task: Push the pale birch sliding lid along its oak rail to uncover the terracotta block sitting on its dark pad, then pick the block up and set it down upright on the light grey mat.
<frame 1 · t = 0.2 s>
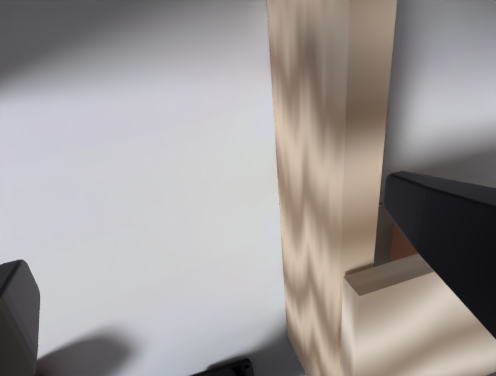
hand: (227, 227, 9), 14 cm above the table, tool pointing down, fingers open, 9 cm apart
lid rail: (290, 169, 26), on the table
block: (411, 235, 33), resting on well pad
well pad: (409, 233, 33), on the table
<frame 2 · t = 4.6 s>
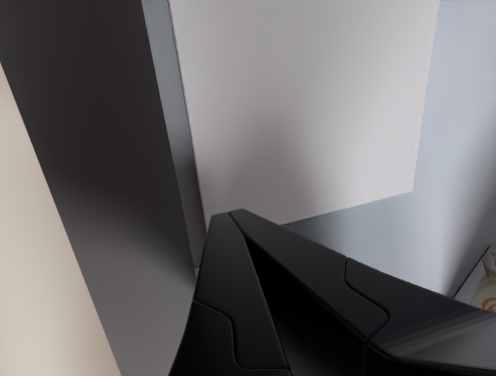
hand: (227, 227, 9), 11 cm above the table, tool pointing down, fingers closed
coffee box: (480, 286, 34), on the table
grey mat: (313, 47, 19), on the table
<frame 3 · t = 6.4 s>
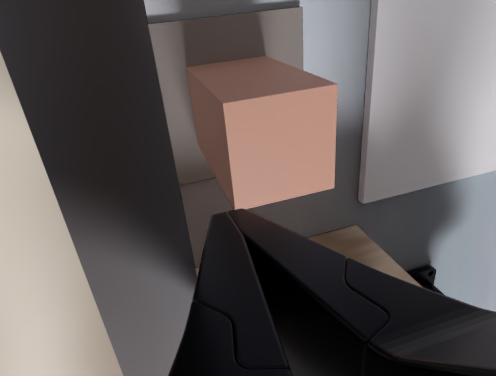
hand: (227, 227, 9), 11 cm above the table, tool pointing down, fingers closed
grey mat: (474, 25, 22), on the table
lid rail: (105, 305, 23), on the table
block: (231, 102, 19), resting on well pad
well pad: (229, 100, 19), on the table
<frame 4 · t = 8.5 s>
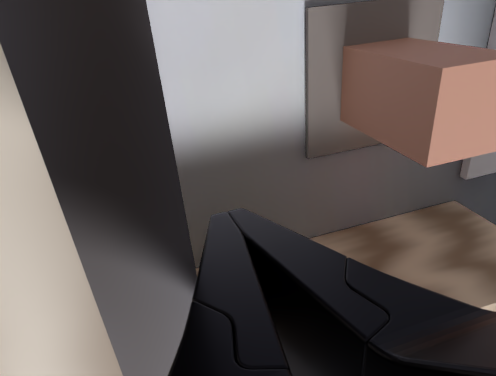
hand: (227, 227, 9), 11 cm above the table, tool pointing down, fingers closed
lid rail: (236, 270, 24), on the table
block: (373, 79, 21), resting on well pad
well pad: (370, 78, 21), on the table
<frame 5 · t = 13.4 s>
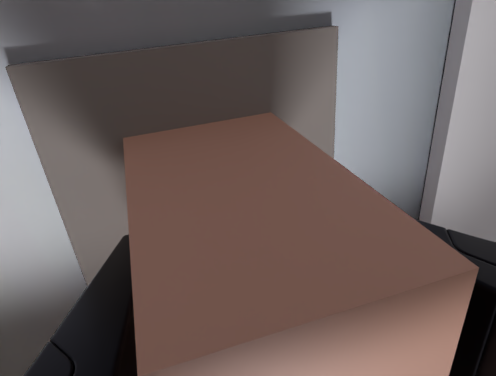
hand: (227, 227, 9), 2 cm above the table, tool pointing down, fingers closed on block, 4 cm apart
block: (209, 190, 11), resting on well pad, touching gripper
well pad: (207, 185, 11), on the table
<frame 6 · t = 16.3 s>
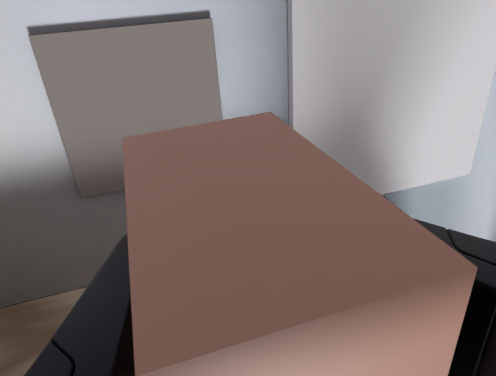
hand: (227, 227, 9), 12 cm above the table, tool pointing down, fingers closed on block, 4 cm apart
grey mat: (400, 37, 22), on the table
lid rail: (24, 316, 22), on the table
block: (209, 190, 11), point 10 cm above the table, touching gripper
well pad: (142, 111, 19), on the table
when the fingers open (4 cm above the table, at t = 19.6 s): block drops 1 cm, resting on grey mat.
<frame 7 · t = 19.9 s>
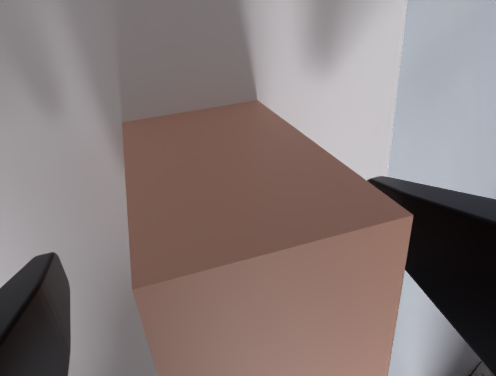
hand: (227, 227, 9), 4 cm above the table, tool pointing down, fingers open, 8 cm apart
grey mat: (198, 165, 12), on the table
block: (201, 172, 12), point 1 cm above the table, touching grey mat
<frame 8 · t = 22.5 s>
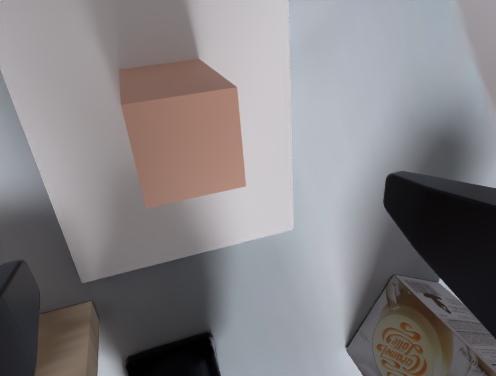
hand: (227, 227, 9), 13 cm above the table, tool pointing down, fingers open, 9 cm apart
coffee box: (390, 313, 35), on the table
grey mat: (166, 101, 20), on the table
block: (167, 103, 20), point 1 cm above the table, touching grey mat
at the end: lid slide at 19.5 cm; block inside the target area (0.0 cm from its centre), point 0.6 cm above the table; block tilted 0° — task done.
